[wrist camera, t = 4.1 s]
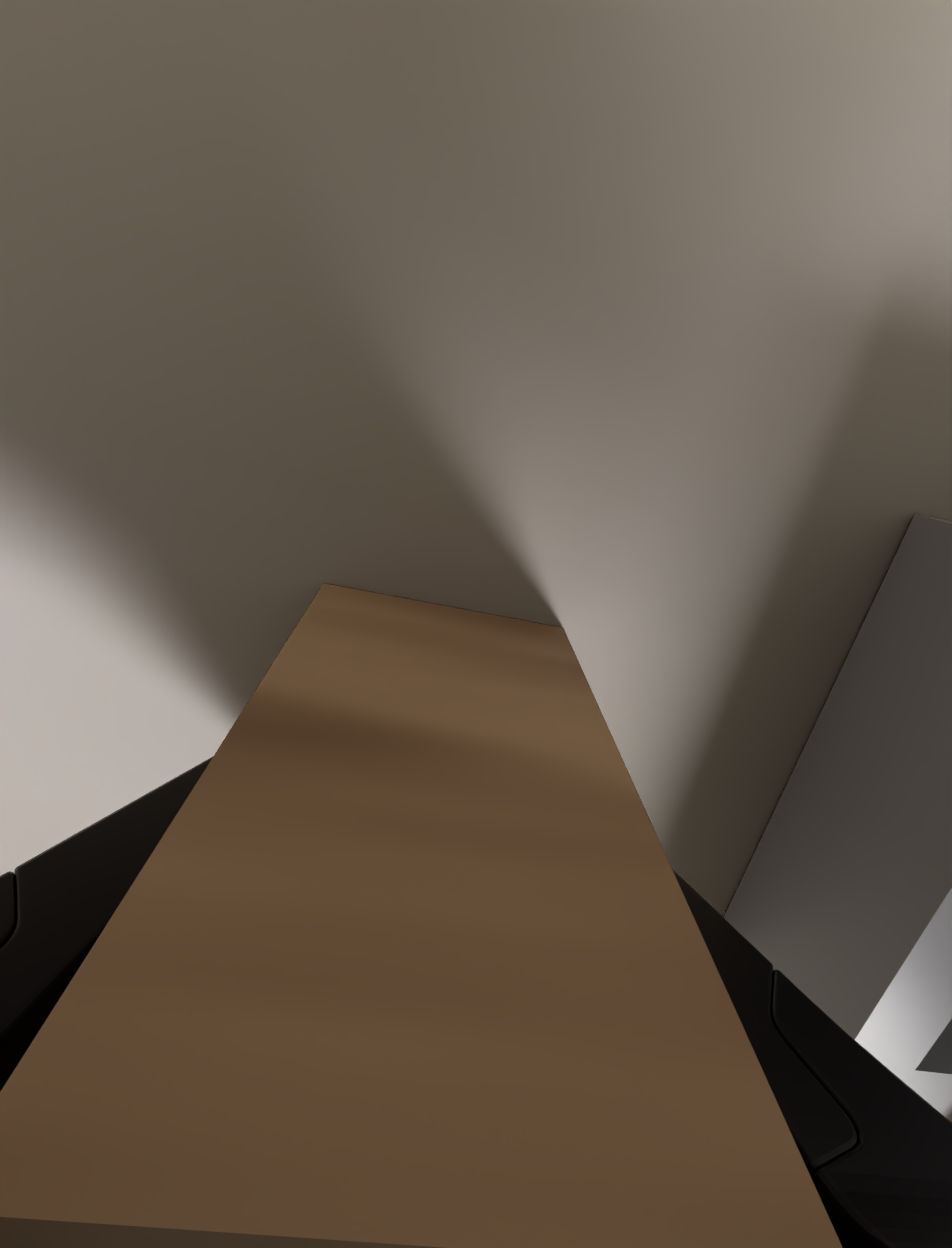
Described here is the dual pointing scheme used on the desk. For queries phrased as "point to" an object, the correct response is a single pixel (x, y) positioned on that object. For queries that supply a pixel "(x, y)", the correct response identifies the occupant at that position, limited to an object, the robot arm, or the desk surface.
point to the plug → (404, 985)
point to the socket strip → (874, 833)
